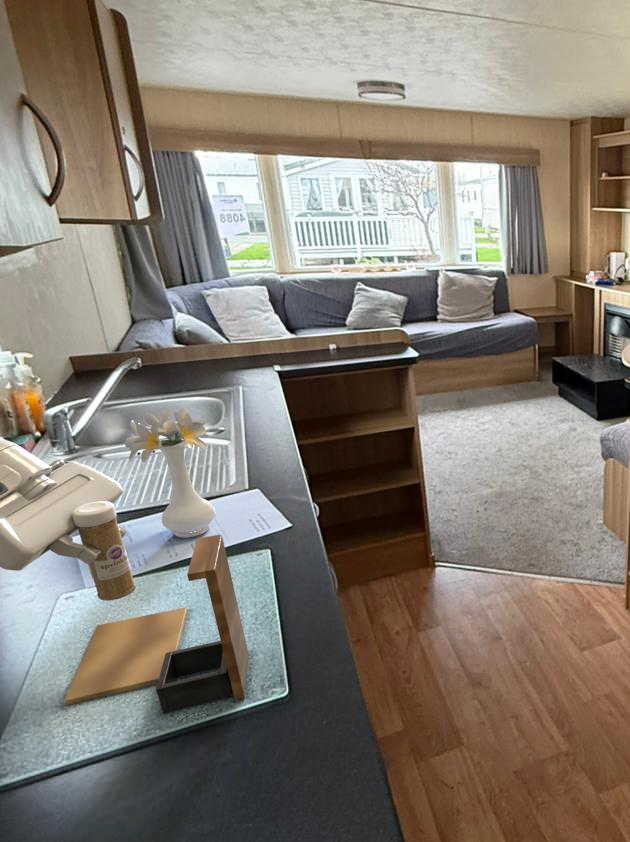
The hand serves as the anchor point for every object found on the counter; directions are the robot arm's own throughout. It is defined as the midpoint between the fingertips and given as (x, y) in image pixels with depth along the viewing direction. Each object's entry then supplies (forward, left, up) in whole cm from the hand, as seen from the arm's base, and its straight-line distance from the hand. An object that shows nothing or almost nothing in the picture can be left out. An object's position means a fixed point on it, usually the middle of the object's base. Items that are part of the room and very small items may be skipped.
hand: (109, 548), depth 89 cm
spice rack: (+9, -11, -18) cm, 23 cm away
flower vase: (+2, +42, -18) cm, 46 cm away
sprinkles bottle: (-1, 0, -7) cm, 7 cm away
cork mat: (-1, +1, -18) cm, 18 cm away
